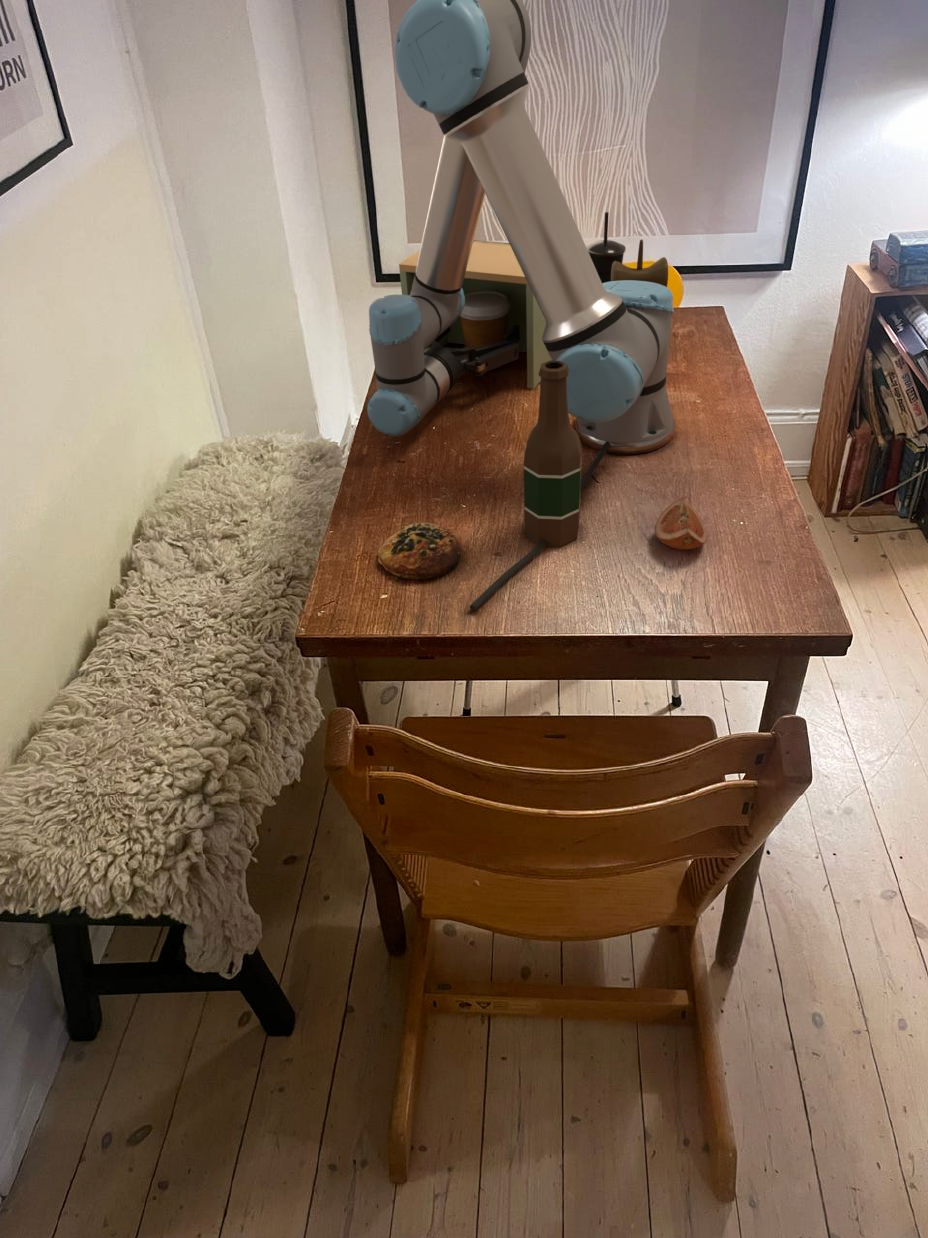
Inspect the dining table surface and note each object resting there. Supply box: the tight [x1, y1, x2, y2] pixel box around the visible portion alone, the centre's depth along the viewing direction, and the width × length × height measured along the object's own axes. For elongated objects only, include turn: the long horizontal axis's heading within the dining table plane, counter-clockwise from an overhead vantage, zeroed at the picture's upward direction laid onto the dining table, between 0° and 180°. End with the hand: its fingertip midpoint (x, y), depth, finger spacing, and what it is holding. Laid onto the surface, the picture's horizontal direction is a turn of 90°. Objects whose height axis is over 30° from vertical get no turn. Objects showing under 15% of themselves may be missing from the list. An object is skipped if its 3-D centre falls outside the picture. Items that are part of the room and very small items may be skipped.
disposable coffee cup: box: [460, 290, 510, 372], centre depth 163 cm, size 10×10×12 cm
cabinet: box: [398, 239, 552, 390], centre depth 162 cm, size 15×24×19 cm, turn 65°
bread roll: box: [377, 522, 462, 580], centre depth 120 cm, size 11×11×5 cm
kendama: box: [611, 239, 669, 288], centre depth 162 cm, size 6×10×20 cm, turn 89°
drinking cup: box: [585, 211, 627, 283], centre depth 174 cm, size 8×8×20 cm
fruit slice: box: [654, 496, 708, 550], centre depth 118 cm, size 8×7×5 cm
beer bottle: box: [523, 360, 583, 548], centre depth 116 cm, size 8×8×24 cm
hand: (482, 327), depth 163 cm, fingers open, 13 cm apart
